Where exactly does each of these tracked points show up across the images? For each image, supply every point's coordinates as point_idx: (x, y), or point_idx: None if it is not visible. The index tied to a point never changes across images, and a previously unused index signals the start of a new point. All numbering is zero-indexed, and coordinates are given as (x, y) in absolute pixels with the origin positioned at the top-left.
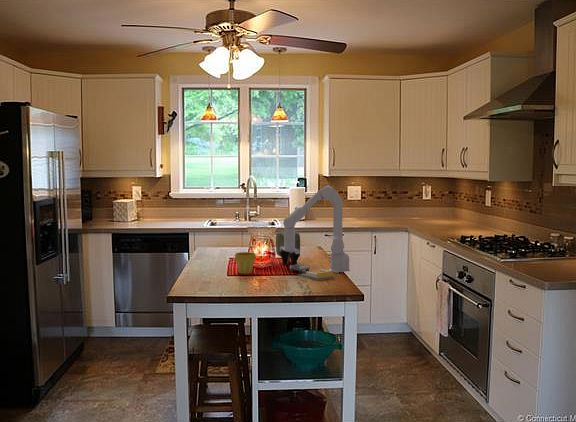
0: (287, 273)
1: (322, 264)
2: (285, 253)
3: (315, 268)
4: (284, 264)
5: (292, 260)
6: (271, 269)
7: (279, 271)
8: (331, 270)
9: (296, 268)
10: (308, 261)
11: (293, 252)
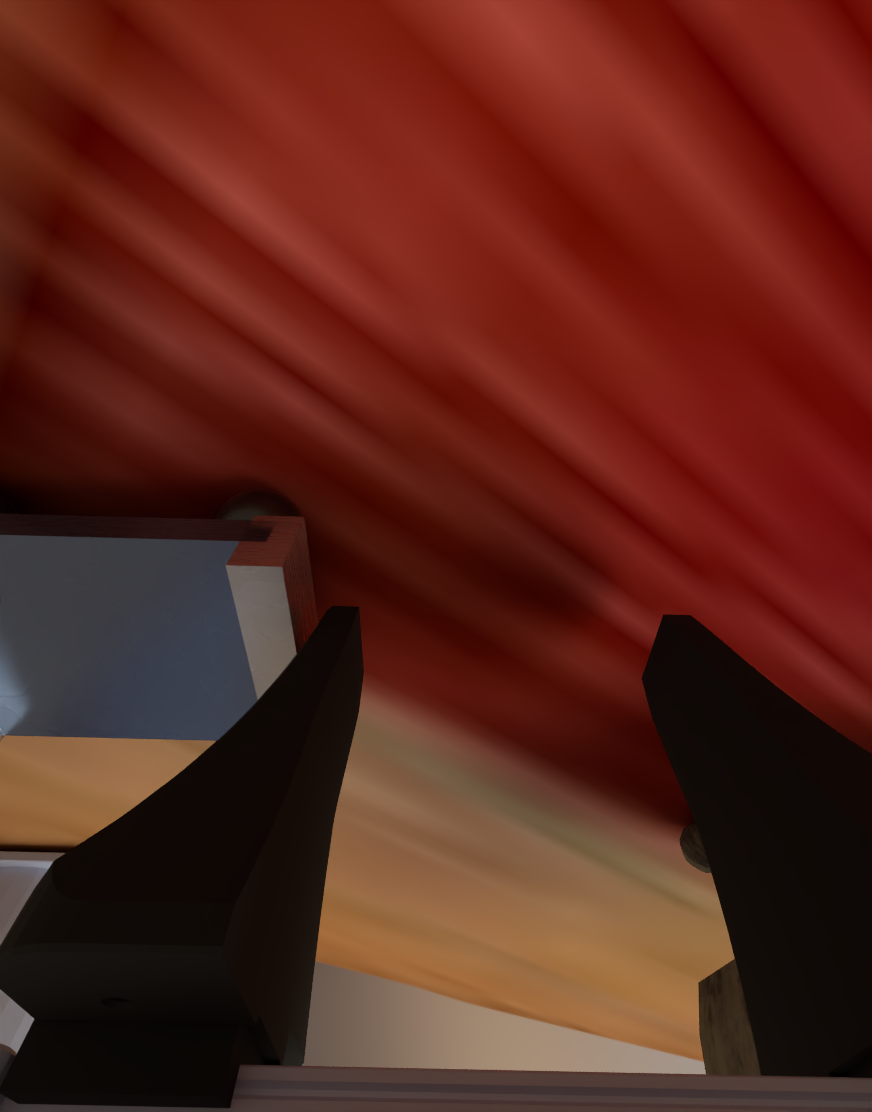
0: (163, 309)
1: (473, 955)
2: (807, 955)
3: (331, 845)
4: (664, 632)
5: (238, 722)
6: (851, 296)
7: (497, 303)
8: (38, 868)
9: (11, 533)
10: (702, 956)
11: (167, 1099)
